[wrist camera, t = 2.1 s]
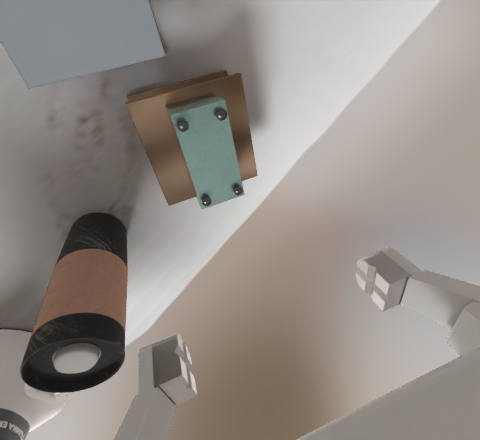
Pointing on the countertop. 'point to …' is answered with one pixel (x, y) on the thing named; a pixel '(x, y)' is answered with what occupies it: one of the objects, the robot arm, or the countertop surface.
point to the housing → (207, 148)
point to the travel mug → (82, 311)
